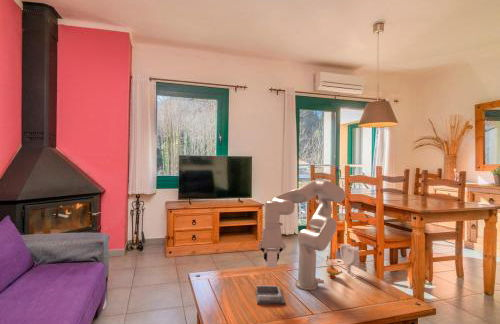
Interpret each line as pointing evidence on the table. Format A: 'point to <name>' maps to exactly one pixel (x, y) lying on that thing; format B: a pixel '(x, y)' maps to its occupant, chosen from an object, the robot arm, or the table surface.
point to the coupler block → (271, 257)
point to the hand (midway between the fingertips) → (271, 260)
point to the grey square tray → (270, 295)
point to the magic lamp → (332, 270)
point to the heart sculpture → (349, 257)
